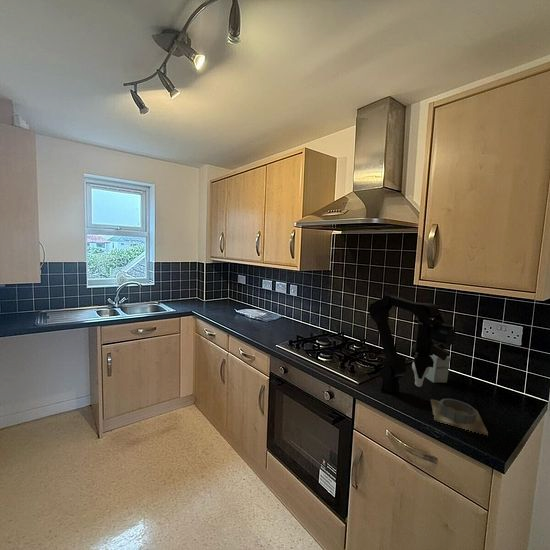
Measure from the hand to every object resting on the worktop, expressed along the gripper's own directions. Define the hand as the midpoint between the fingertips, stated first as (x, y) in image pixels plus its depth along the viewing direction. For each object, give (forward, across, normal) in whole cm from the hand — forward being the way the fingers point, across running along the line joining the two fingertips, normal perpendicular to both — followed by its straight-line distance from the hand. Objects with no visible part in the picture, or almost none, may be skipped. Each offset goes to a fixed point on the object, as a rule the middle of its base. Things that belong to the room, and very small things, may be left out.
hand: (419, 375), depth 115 cm
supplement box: (+13, +34, -10) cm, 38 cm away
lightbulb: (+5, 0, 0) cm, 5 cm away
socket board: (+13, 0, -14) cm, 19 cm away
